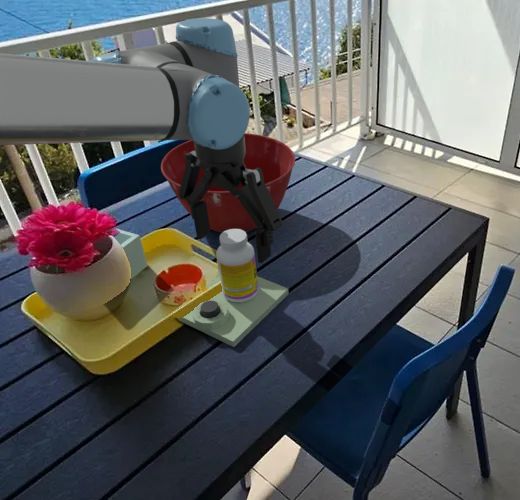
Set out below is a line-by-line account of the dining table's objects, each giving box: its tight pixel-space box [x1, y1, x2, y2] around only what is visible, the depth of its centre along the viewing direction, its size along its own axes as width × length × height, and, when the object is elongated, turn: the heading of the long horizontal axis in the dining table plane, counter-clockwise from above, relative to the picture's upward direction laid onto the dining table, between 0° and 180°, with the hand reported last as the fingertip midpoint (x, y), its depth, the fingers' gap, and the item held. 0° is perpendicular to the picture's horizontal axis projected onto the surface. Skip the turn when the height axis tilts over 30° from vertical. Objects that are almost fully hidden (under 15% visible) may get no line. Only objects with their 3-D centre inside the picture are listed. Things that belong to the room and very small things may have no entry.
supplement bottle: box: [215, 229, 258, 303], centre depth 90 cm, size 7×7×13 cm
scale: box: [172, 274, 290, 348], centre depth 92 cm, size 16×14×3 cm
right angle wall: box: [115, 228, 149, 280], centre depth 97 cm, size 12×12×8 cm
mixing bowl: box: [160, 132, 296, 233], centre depth 113 cm, size 28×28×15 cm
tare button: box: [201, 301, 219, 318], centre depth 87 cm, size 3×3×2 cm
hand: (233, 247), depth 87 cm, fingers open, 13 cm apart
